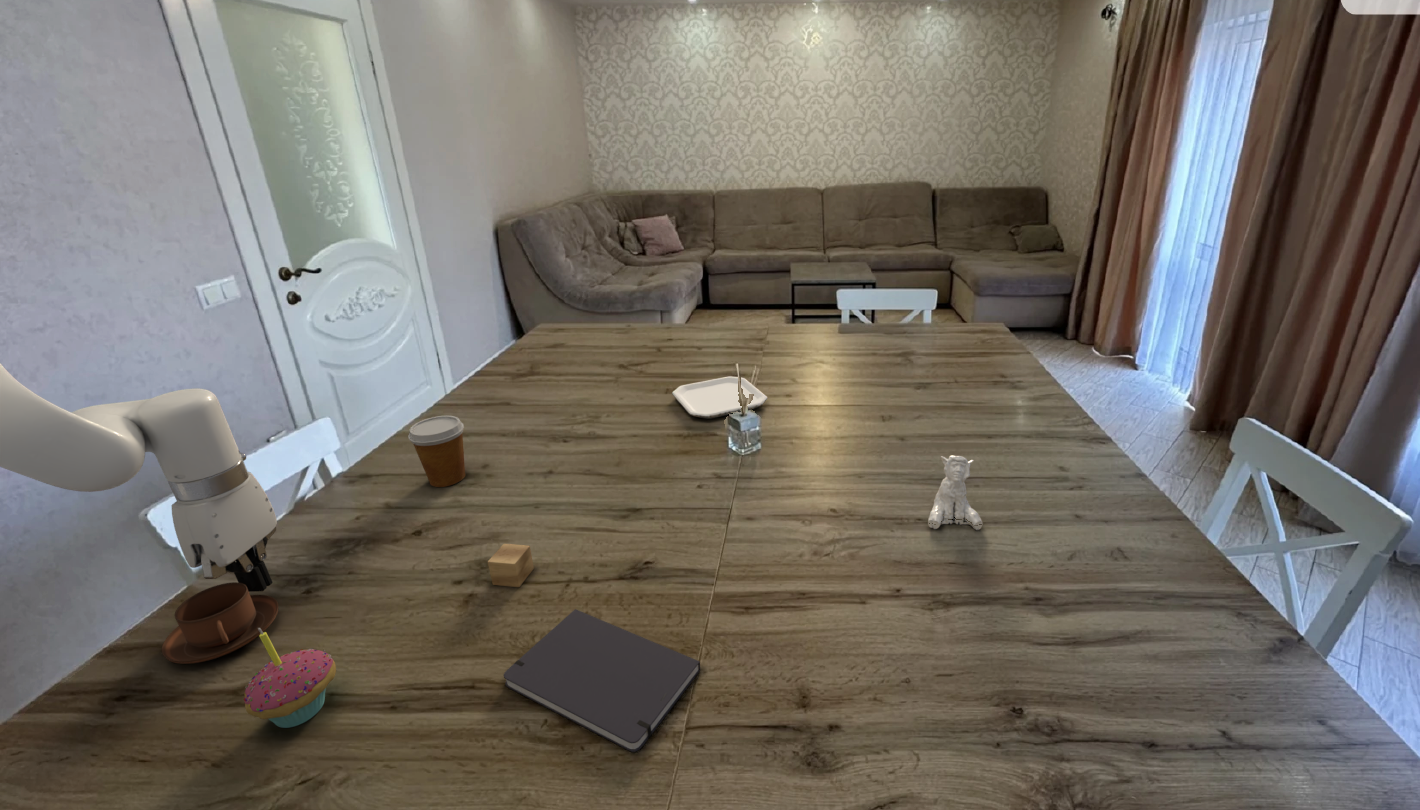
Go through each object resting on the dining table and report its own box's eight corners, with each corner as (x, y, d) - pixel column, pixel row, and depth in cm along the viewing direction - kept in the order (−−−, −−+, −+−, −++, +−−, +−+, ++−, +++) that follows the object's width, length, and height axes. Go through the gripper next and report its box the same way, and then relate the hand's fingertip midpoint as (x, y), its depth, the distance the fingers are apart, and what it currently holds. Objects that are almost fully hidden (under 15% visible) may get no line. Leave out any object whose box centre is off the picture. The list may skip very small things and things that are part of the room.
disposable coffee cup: (480, 479, 122) (468, 426, 118) (426, 497, 116) (412, 441, 112) (466, 461, 129) (455, 410, 125) (415, 477, 123) (401, 424, 119)
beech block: (519, 587, 93) (514, 564, 92) (492, 585, 94) (487, 561, 92) (534, 568, 97) (529, 545, 96) (508, 566, 98) (503, 543, 96)
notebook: (700, 670, 79) (576, 617, 87) (700, 661, 78) (575, 608, 87) (636, 755, 68) (502, 684, 77) (635, 745, 67) (500, 675, 76)
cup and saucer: (301, 619, 87) (288, 584, 85) (198, 684, 77) (180, 647, 75) (251, 596, 92) (237, 562, 89) (147, 655, 81) (129, 618, 79)
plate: (668, 395, 161) (668, 387, 160) (740, 381, 170) (740, 373, 169) (695, 426, 144) (694, 418, 143) (773, 408, 153) (773, 400, 152)
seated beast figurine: (928, 530, 106) (933, 470, 102) (919, 502, 114) (924, 445, 110) (982, 531, 106) (990, 471, 102) (970, 503, 114) (977, 446, 110)
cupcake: (237, 731, 71) (202, 652, 67) (310, 673, 78) (282, 598, 74) (292, 751, 69) (258, 671, 64) (361, 689, 76) (336, 614, 72)
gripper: (230, 451, 89) (273, 554, 96) (126, 513, 75) (184, 628, 82) (281, 450, 89) (320, 553, 96) (186, 512, 75) (240, 627, 82)
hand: (258, 587), depth 89 cm, fingers closed
